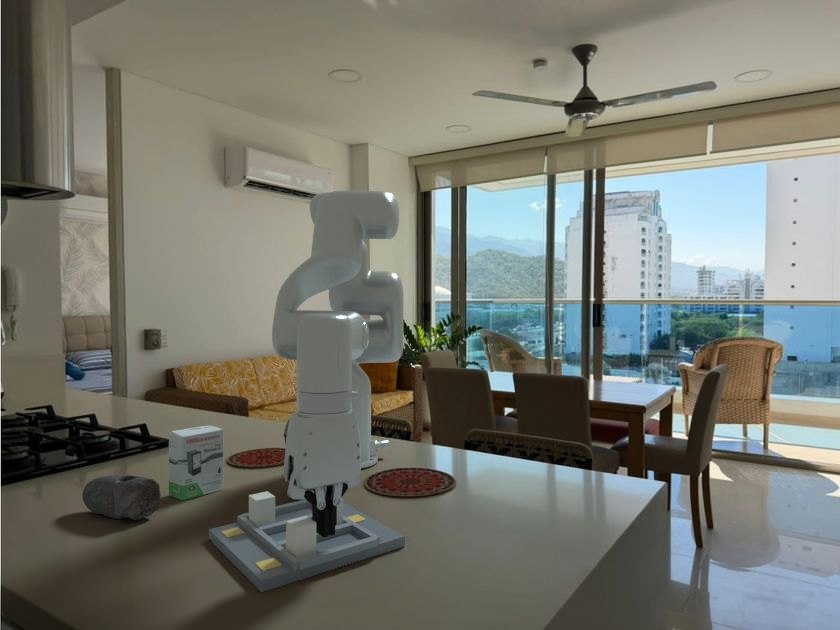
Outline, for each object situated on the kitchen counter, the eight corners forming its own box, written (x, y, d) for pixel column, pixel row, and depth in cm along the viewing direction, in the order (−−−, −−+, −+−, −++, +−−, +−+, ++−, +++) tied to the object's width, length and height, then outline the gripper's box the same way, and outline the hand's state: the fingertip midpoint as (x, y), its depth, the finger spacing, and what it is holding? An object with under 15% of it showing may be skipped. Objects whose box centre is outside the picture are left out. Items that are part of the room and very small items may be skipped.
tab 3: (333, 520, 91) (333, 491, 91) (342, 526, 89) (342, 497, 89) (315, 524, 89) (315, 495, 89) (325, 531, 87) (325, 501, 87)
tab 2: (306, 547, 81) (306, 515, 81) (316, 555, 79) (316, 522, 79) (286, 553, 79) (286, 520, 79) (295, 561, 77) (295, 527, 77)
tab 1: (267, 519, 91) (267, 491, 91) (275, 525, 89) (275, 496, 89) (248, 524, 90) (248, 495, 89) (256, 530, 87) (256, 500, 87)
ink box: (181, 501, 104) (180, 436, 103) (167, 495, 107) (167, 431, 107) (224, 489, 110) (224, 427, 110) (210, 484, 114) (210, 424, 113)
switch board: (335, 506, 102) (335, 492, 102) (406, 547, 85) (406, 530, 85) (208, 538, 88) (208, 521, 88) (262, 593, 72) (262, 573, 72)
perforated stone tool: (71, 515, 97) (70, 474, 97) (98, 504, 102) (98, 465, 102) (138, 528, 92) (138, 485, 92) (164, 517, 97) (164, 475, 97)
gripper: (356, 393, 88) (356, 513, 89) (262, 404, 79) (262, 538, 80) (384, 400, 82) (384, 528, 83) (286, 413, 73) (286, 557, 74)
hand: (324, 533), depth 81 cm, fingers closed
